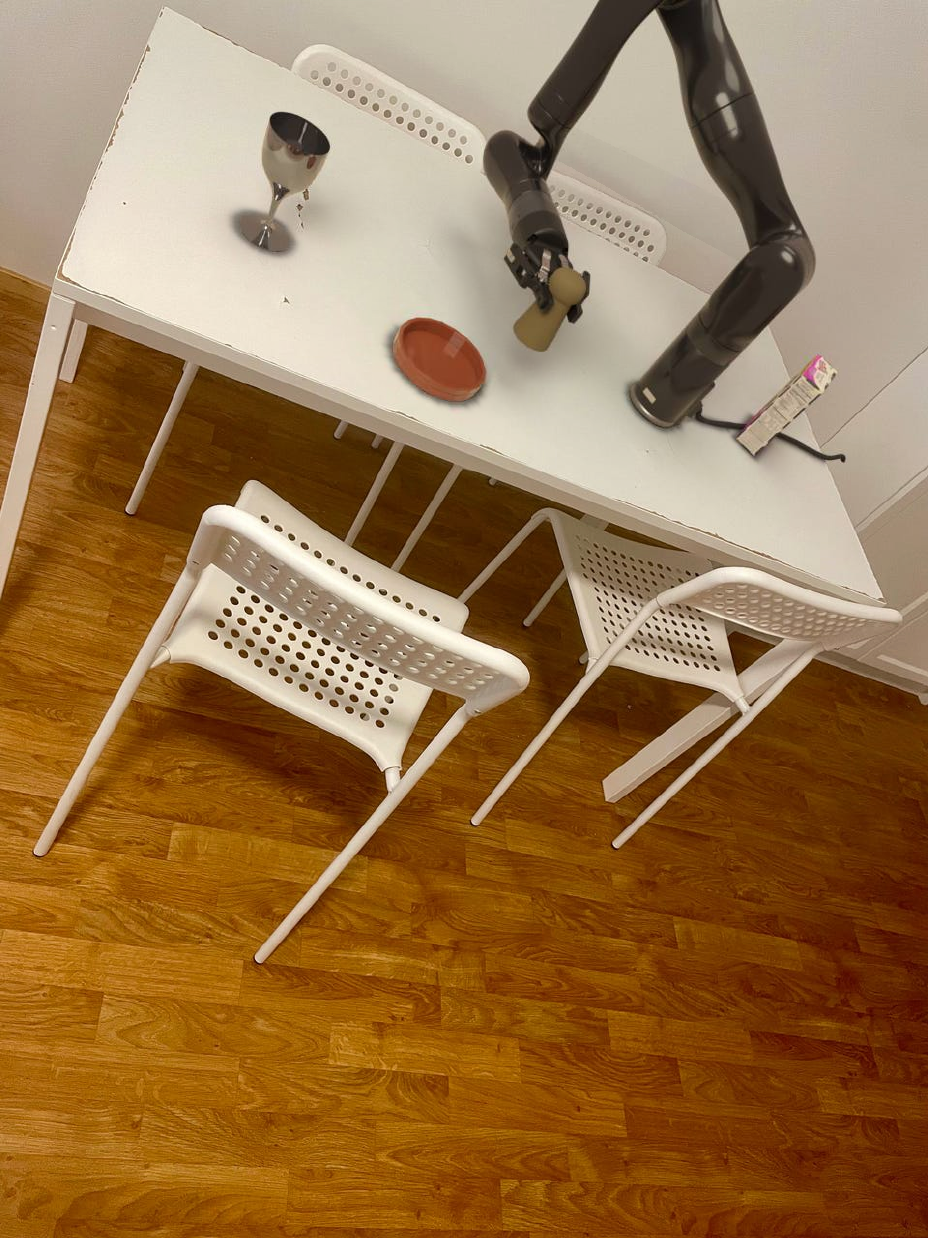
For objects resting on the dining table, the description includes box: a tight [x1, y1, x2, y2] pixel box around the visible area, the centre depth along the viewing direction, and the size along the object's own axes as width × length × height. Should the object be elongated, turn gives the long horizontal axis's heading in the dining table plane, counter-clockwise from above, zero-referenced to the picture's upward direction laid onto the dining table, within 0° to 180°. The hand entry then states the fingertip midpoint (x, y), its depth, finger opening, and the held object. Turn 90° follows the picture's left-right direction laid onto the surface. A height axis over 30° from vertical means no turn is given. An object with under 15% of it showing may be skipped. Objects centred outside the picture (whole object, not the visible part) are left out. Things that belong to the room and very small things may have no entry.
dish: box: [392, 316, 487, 402], centre depth 120 cm, size 14×14×2 cm
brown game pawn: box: [512, 267, 586, 353], centre depth 118 cm, size 6×6×11 cm
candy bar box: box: [735, 353, 839, 457], centre depth 149 cm, size 11×5×16 cm, turn 144°
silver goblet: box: [238, 111, 331, 253], centre depth 112 cm, size 8×8×15 cm
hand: (562, 313), depth 116 cm, fingers closed on brown game pawn, 4 cm apart
